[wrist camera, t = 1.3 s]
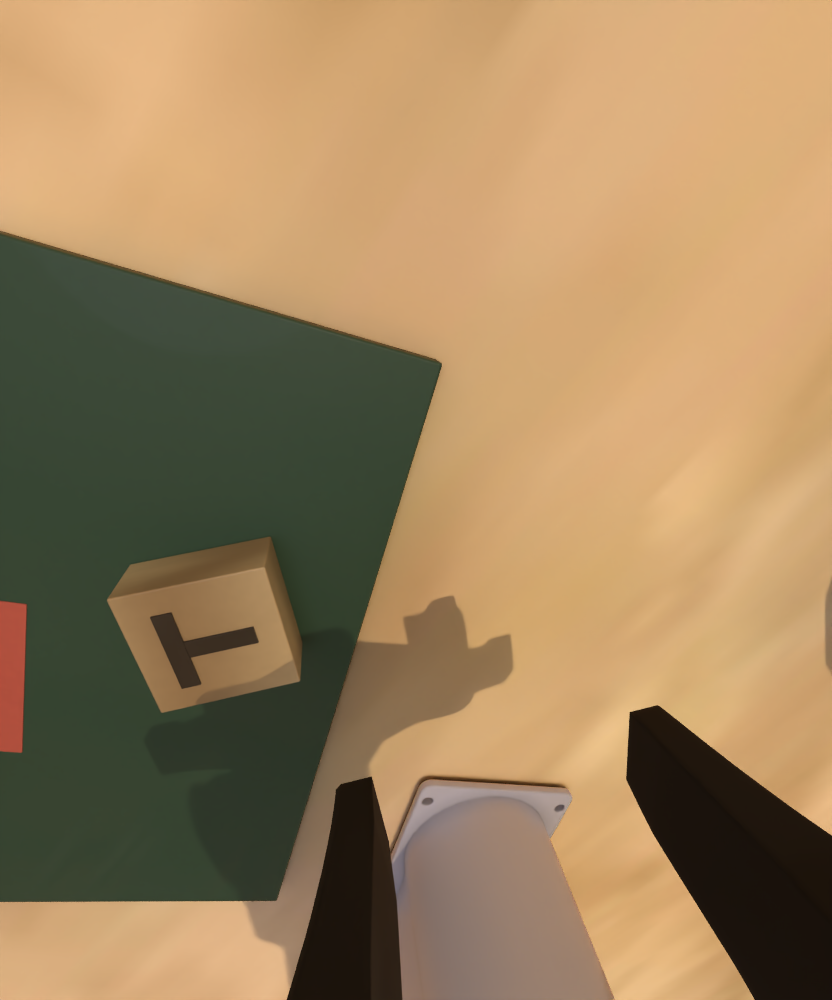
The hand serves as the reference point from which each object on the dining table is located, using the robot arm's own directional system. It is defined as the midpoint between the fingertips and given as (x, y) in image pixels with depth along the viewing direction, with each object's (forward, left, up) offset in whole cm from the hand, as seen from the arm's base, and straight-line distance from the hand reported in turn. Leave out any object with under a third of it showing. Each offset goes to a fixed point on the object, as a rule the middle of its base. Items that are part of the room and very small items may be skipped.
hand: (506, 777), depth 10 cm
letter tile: (-3, +6, -9) cm, 11 cm away
